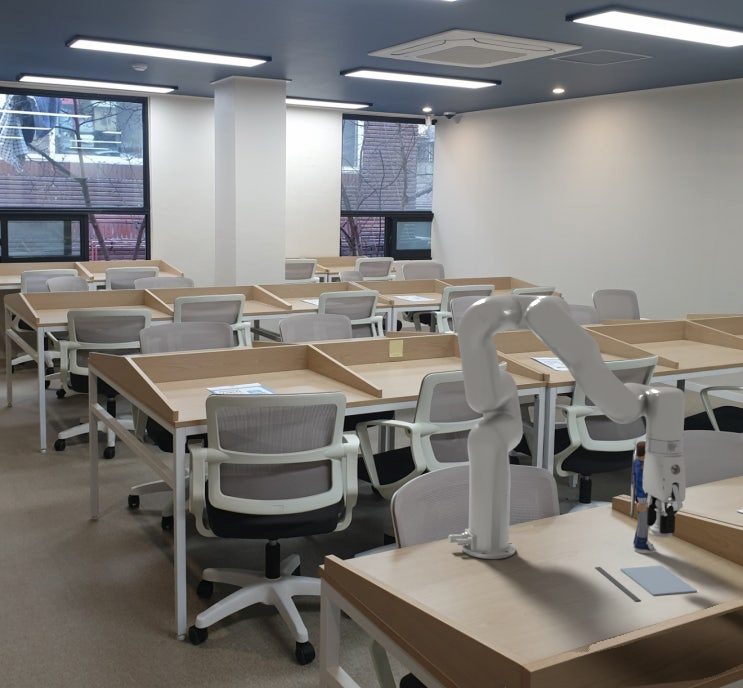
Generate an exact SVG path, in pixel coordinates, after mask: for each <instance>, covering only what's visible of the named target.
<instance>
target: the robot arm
mask: <svg viewBox="0 0 743 688" xmlns="http://www.w3.org/2000/svg"><path fill="white" fill-rule="evenodd" d="M572 315H573V314H572V309H571V307H570V305H569V302H567V301H566V300H565V299H564V298H562V297H561V296H557V295H533V294H531V295H530V294H529V295H528V294H508V293H507V294H500V295H492V296H487V297H484V298H481V299H479V300H477V301H476V302H473V304H470V306H469V307H468V308H467V309H466V310H465V311H464V312H463V314H462V316H461V317H460V319H459V322H458V326H457V341H458V347H459V354H460V355H459V356H460V360H461V361H460V363H461V371H462V377H463V386H464V393H465V397H466V398H465V399H466V402H467V404H468V406H469V407H470V408H471V409H472V411H474V412H476V413H479V414H482V415H483V419H481V420H479V421H478V422H477V423H475V424H474V425H473V426H472V428H471V430H469V433H468V436H467V440H466V441H467V454H468V464H469V478H468V479H469V491H468V492H469V495H468V497H469V499H468V500H469V501H468V503H469V505H468V528H464V532H461V533H459V534H456V533H455V534H448V536H447V538H448V539H447V540H448V544H451V543H452V544H453V543H456V545H457V546H461V550H462V551H463V553H465V554H467V555H468V556H471V557H475V558H478V559H485V560H486V559H487V560H499V559H505V558H509V557H511V556H512V555H515V552H516V545H515V544H514V543H513V542H512V541H510V518H511V517H510V514H511V513H510V512H511V511H510V509H511V508H510V507H511V467H510V457H509V453H510V451H512V450H514V449H515V448H516V447H517V446H518V445H519V444H520V443H521V440H522V438H523V434H524V433H523V432H524V431H523V429H524V428H523V419H522V412H521V406H520V398H519V397H520V396H519V392H518V387H517V386H518V385H517V383H516V381H515V380H514V377H513V376H512V374H511V373H509V371H507V370H506V369H503V368H501V367H500V364H499V357H498V350H497V347H496V345H495V342H494V336H496V334H499V333H504V332H506V331H527V332H532V334H534V336H536V338H537V339H538V340H539V341H540V342H541V343H542V344H543V345H545V347H546V348H547V349H548V350H549V351H551V353H552V354H553V355H554V356H555V357H556V358H557V359H558V360H559V361H560V362H561V363H562V364H563V365H564V366H565V367H566V368H567V370H568V371H569V373H570V375H571V377H572V378H573V379H574V381H575V382H576V384H577V385H578V386H579V388H580V389H581V391H582V393H584V395H585V396H586V397H587V398H588V399H589V400H590V401H591V402H592V404H594V405H595V407H597V408H598V409H599V411H601V412H602V413H603V414H604V416H606V417H607V418H609V420H611V421H613V422H615V423H617V424H619V425H621V424H622V425H629V424H630V423H633V422H634V421H635V422H636V420H637V419H638V418H640V417H645V418H646V423H645V424H646V425H645V426H646V427H645V428H646V429H645V441H646V445H645V452H646V453H645V459H644V468H643V490H644V492H645V496H646V498H647V502H646V505H647V507H648V509H647V525H649V527H650V526H652V525H653V524H654V523H655V521H656V519H657V512H656V511H655V508H657V506H656V504H655V503H656V500H657V499H659V500H661V504H662V515H660V533H661V534H668V533H672V534H674V533H675V532H676V531H675V529H676V516H677V515H678V511H680V510H681V509H682V508H683V506H684V504H683V502H684V501H685V500H686V491H687V490H686V487H687V486H686V468H685V459H684V455H683V453H684V452H683V451H684V450H683V449H684V429H685V428H684V427H685V426H684V425H685V407H686V395H685V392H684V390H682V389H680V388H677V387H671V386H657V387H656V386H651V385H647V384H642V383H638V382H637V383H636V382H626V383H624V382H622V381H621V380H620V379H619V378H618V377H617V376H616V375H615V374H614V373H613V371H612V370H611V369H610V368H609V367H608V365H607V364H606V362H605V360H604V358H603V356H602V354H601V350H600V349H601V348H600V346H599V344H598V342H597V341H596V339H595V338H594V337H593V336H592V335H591V334H589V332H588V331H586V329H584V327H582V325H580V323H578V322H577V320H575V318H573V317H572ZM667 504H668V506H667ZM669 504H670V505H669Z"/></svg>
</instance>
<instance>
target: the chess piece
mask: <svg viewBox="0 0 743 688" xmlns="http://www.w3.org/2000/svg"><path fill="white" fill-rule="evenodd" d="M655 504H656V506H657V508H655V511H656V512H657V519H656V521H655V523H654V524H653V525H652V526H649V530H648V534H650V536H653V537H656V538H661V539H662V538H664V539H665V538H670V537H671V536H672V535H673V533H668V534H661V533H660V515H662V504H661V500H659V499H657V500H656V503H655ZM667 507H669V504H667Z"/></svg>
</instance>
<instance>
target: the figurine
mask: <svg viewBox="0 0 743 688" xmlns="http://www.w3.org/2000/svg"><path fill="white" fill-rule="evenodd" d="M645 445H646V440H643V441H638V442H637V437H635V438H634V442H633V455H632V467H631V468H632V469H631V480H630V481H631V484H630V505H631V506H630V519H631V520H632V519H633V517H634V515H635V514H634V513H635V505H636V510H637V521H636V522H637V525H636V527H635V533H634V534H635V535H634V538H633V544H632V545H633V546H632V548H633V551H634V552H635V553H638V554H654V553H655V549H656V548H655V546H654V543H653V542H651V541H649V539H648V538H649V537H648V536H649V529H650V526H649V525H647V509H648V507H647V505H646V502H647V498H646V496H645V492H644V490H643V468H644V459H645V453H646V452H645ZM635 454H636V459H635Z"/></svg>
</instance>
